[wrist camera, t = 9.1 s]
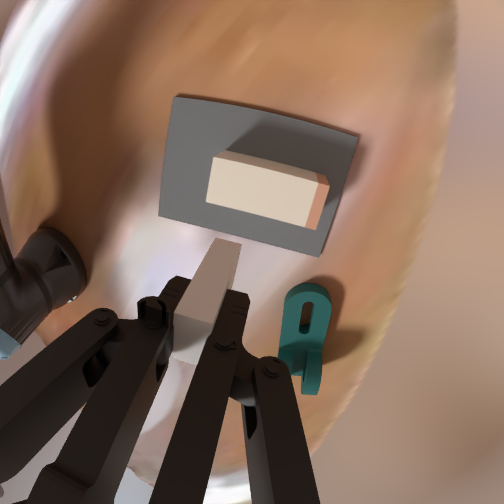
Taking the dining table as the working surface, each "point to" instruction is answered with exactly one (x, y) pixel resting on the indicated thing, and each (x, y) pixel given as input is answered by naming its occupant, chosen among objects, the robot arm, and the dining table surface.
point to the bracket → (305, 334)
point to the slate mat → (253, 144)
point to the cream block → (267, 188)
